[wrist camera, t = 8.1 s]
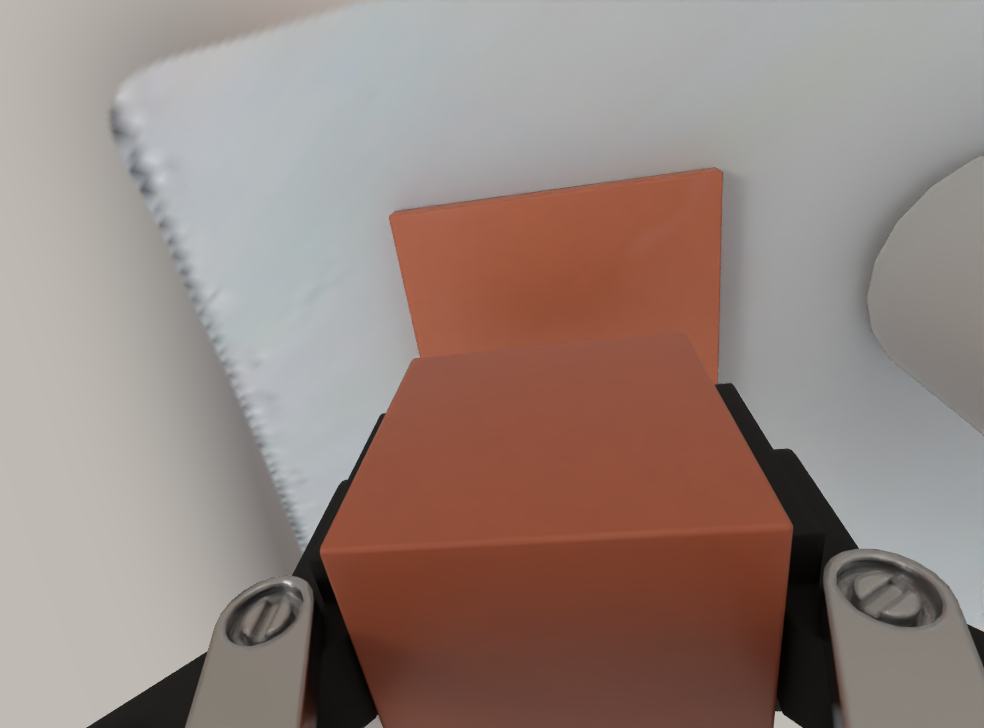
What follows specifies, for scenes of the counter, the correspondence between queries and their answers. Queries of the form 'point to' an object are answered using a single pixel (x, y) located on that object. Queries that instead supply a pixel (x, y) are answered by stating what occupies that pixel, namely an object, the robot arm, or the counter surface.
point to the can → (937, 292)
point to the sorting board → (567, 266)
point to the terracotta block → (563, 545)
